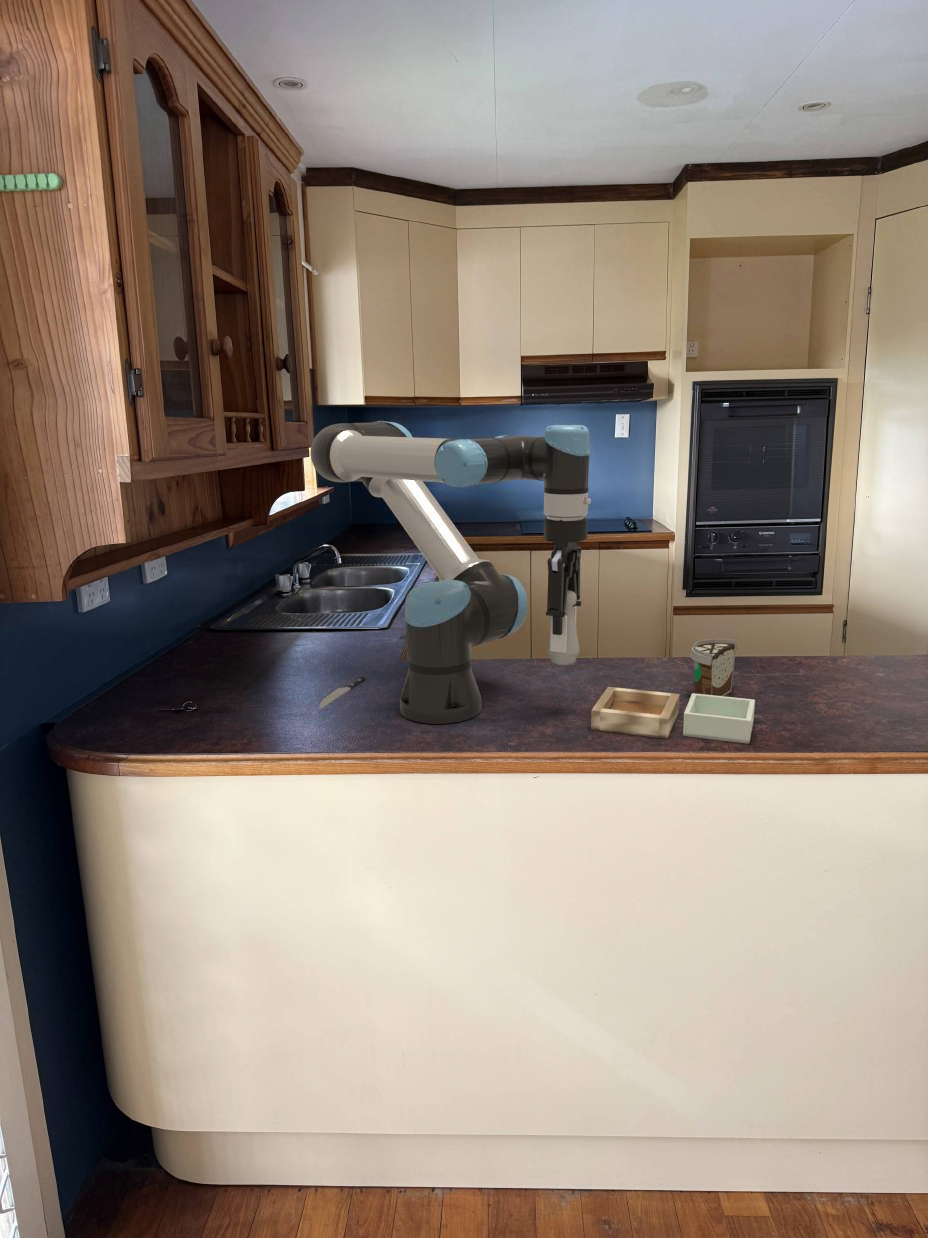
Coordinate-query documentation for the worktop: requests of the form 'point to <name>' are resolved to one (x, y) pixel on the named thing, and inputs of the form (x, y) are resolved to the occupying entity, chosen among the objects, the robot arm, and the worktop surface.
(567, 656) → the salt shaker
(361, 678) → the chef's knife
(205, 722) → the worktop surface
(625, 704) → the plate
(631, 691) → the beige square tray
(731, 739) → the bin
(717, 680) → the food container
